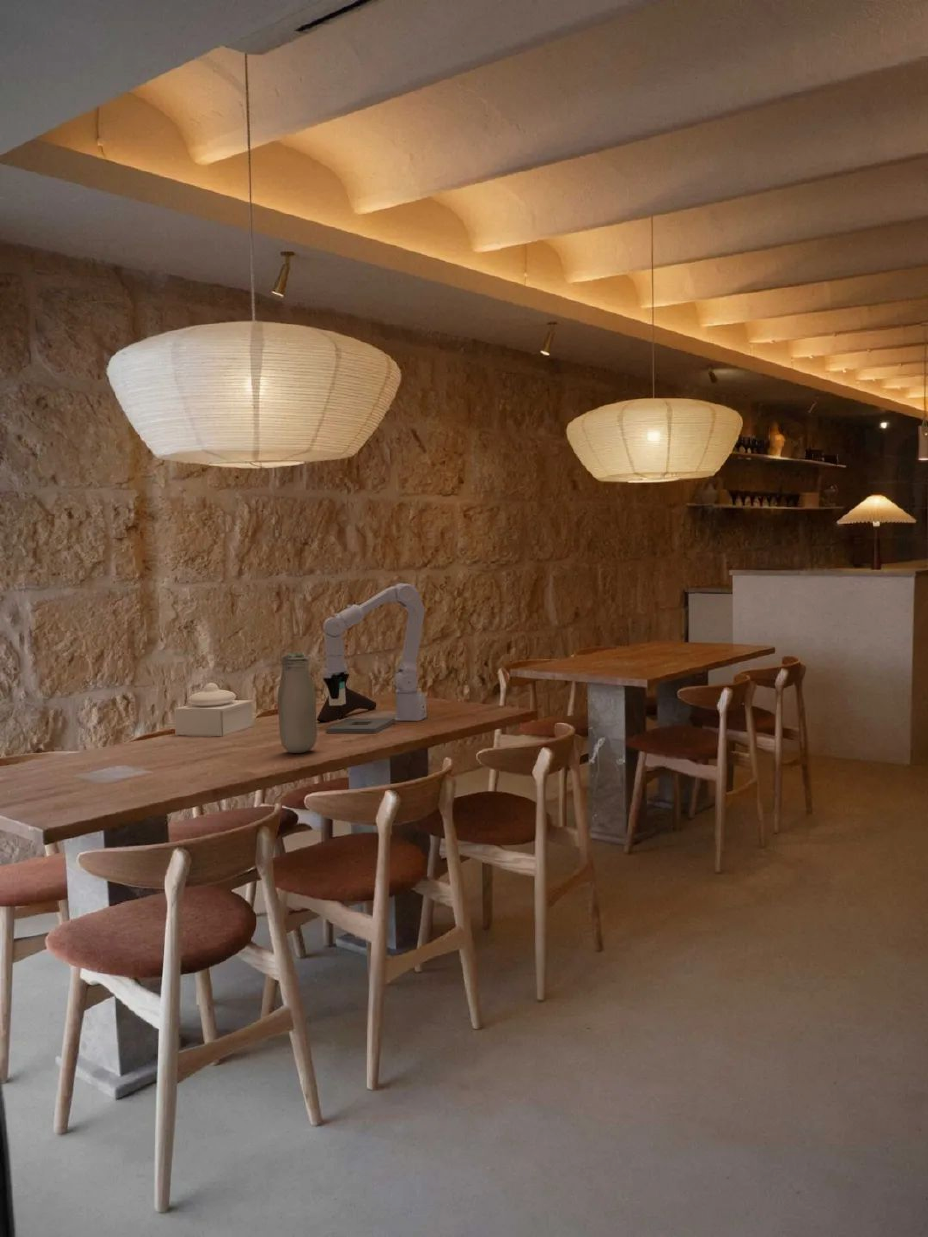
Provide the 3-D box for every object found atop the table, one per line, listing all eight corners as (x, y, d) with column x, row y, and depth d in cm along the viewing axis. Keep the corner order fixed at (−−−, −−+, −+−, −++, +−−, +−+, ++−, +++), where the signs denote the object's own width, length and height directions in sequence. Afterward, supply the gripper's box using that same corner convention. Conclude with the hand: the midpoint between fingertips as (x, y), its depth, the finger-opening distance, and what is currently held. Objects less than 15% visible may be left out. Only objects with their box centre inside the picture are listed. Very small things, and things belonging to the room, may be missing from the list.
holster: (356, 745, 343) (312, 718, 325) (370, 701, 349) (327, 673, 331) (368, 746, 340) (324, 719, 322) (381, 702, 346) (339, 673, 328)
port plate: (394, 722, 317) (394, 718, 317) (375, 733, 300) (375, 728, 299) (348, 723, 321) (347, 718, 321) (326, 733, 304) (325, 728, 304)
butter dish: (207, 726, 329) (204, 678, 328) (254, 727, 323) (251, 678, 322) (175, 736, 313) (171, 686, 312) (224, 737, 307) (220, 686, 306)
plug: (345, 703, 318) (344, 681, 318) (340, 705, 314) (339, 683, 314) (334, 703, 319) (332, 681, 319) (329, 705, 316) (327, 683, 315)
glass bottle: (297, 757, 269) (291, 654, 267) (274, 753, 276) (268, 653, 274) (325, 751, 276) (319, 650, 274) (302, 747, 283) (296, 649, 281)
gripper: (332, 653, 324) (334, 694, 325) (313, 658, 310) (316, 701, 311) (352, 652, 322) (355, 694, 323) (334, 657, 308) (337, 701, 309)
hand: (337, 697), depth 317 cm, fingers closed on plug, 4 cm apart
